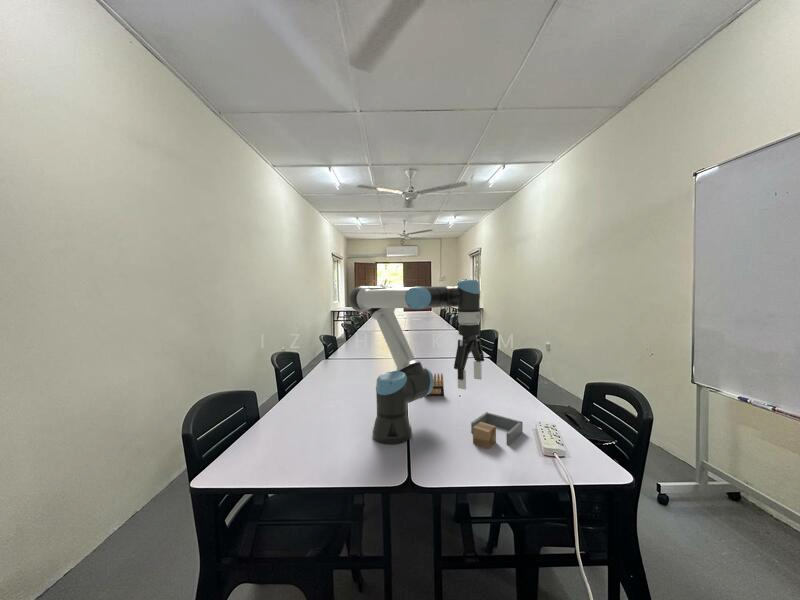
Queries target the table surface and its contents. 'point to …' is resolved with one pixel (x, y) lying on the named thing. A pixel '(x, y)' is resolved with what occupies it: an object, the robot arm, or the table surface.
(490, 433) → the block
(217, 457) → the table surface
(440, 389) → the ammunition clip
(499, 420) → the corral
